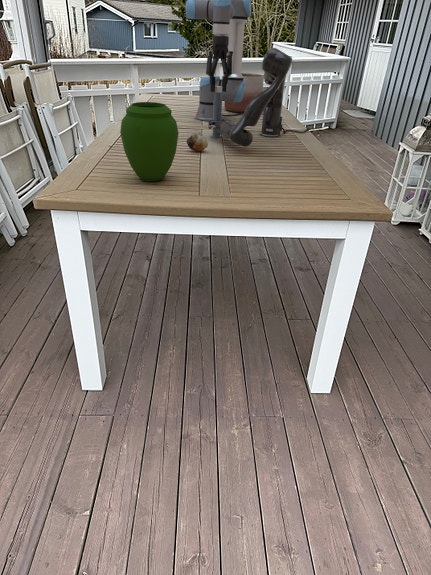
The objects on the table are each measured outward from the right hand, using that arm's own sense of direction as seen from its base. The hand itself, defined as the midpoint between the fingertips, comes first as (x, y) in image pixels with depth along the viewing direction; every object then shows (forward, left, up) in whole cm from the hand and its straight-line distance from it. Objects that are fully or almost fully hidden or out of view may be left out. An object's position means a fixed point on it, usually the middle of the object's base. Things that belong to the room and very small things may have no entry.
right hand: (215, 122), depth 207 cm
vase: (+47, +63, -7) cm, 79 cm away
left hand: (0, +3, +14) cm, 15 cm away
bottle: (0, +3, -7) cm, 7 cm away
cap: (0, +3, +16) cm, 17 cm away
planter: (-47, -72, -7) cm, 86 cm away
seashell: (+19, +29, -7) cm, 35 cm away
